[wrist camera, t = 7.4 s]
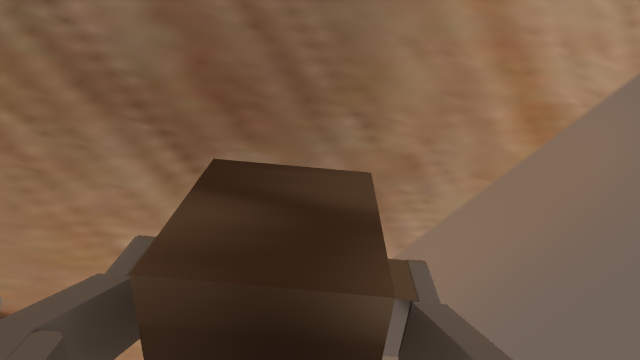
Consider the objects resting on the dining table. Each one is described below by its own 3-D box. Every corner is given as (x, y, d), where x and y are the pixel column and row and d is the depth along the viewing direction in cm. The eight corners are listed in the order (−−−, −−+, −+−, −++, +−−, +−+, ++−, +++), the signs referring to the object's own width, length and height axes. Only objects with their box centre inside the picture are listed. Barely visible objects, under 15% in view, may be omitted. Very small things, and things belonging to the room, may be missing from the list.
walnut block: (218, 281, 13) (157, 436, 8) (213, 158, 11) (129, 274, 7) (352, 293, 13) (361, 453, 9) (370, 172, 11) (395, 297, 7)
